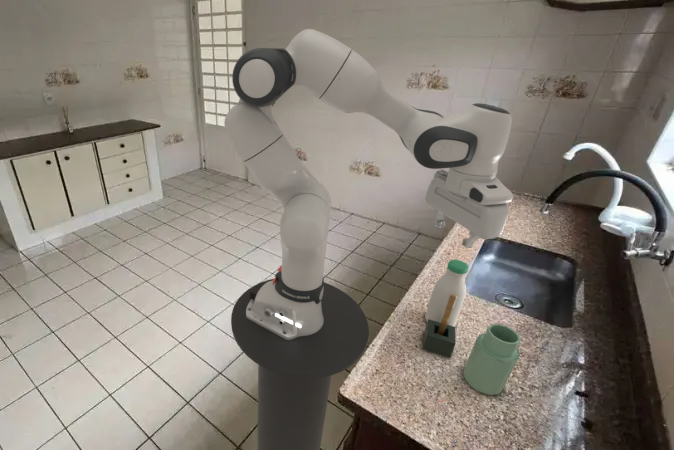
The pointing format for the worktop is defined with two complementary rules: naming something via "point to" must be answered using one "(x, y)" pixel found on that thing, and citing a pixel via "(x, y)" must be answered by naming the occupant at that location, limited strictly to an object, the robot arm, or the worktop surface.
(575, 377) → the worktop surface
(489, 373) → the green jar
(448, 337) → the spoon holder
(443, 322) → the wooden stick
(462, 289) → the milk bottle
